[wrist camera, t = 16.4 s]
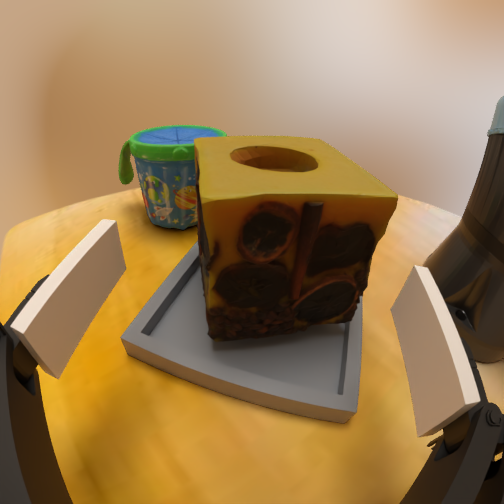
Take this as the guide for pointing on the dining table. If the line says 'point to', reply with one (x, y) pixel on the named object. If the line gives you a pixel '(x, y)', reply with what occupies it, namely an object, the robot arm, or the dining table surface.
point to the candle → (283, 233)
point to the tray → (248, 353)
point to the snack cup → (166, 171)
